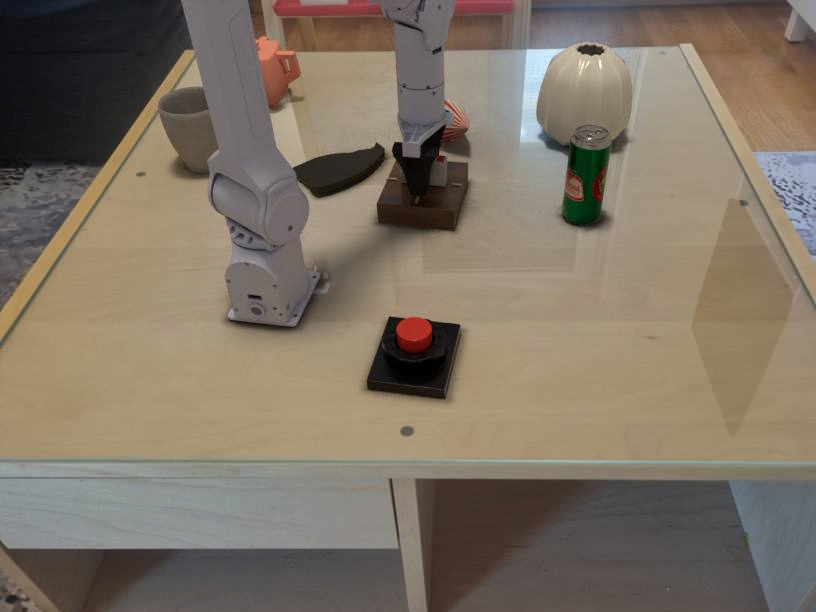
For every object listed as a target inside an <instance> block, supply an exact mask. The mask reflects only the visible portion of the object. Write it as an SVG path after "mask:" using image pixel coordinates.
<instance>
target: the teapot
mask: <svg viewBox="0 0 816 612" xmlns="http://www.w3.org/2000/svg"><path fill="white" fill-rule="evenodd" d="M255 40H256V45H257V50H258V55H259V60H260V65H261V70H262V75H263V81H264V86H265V91H266V96H267V101H268V106H269V110H276V109H279V108H280V104H279V103H280V102H281V101H282V100H283V99H284V98H285V96H286V94H287V92H288V89H289V84H291V83H293V82H294V81H296V80H297V79H299V78H301V75H302V72H301V68H300V64H299V60H298V56H297V53H296V50H283V49H282V47H281V43H279V41H278V40H274V39H272V40H271V39H269V37H268V36H265V35H263V36H260V37H259V38H258V39H257V38H255ZM287 61H288V63H287Z"/></svg>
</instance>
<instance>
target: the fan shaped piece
mask: <svg viewBox="0 0 816 612" xmlns="http://www.w3.org/2000/svg"><path fill="white" fill-rule="evenodd" d="M385 156H386V148H385V147H383V146H382V145H381V144H380V143H378V142H375V143H374V146H372V147H371V148H363V149H356V150H355V151H351V152H337V153H336V152H335V153H329V154H324V155H320V156H316V157H313V158H311V159H309V160H307V161H304V162H302V163H300V164H298V165H295V166H293V167H292V168H293V170H294V171H295V173H296V177H297V179H298V180H300V182H302V184H304V185H305V186H307V187H309V189H311V190H312V191H314V193H315V194H316V196H317V197H319V198H323V197H326V196H329V195H333V194H336V193H339V192H342V191H345V190H348V189H349V188H352V187H353V186H357V184H359V183H361V182H363V181H364V180H366V179H367V178H368V177H369V176H370V175H372V174H373V173H374V172H375V171H376V170H377V169H378V167H380V165H381V164H382V162H383V160H384V158H385Z"/></svg>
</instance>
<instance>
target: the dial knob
mask: <svg viewBox="0 0 816 612" xmlns="http://www.w3.org/2000/svg"><path fill="white" fill-rule="evenodd" d="M447 161H448V157H447V156H446V155H440V154H439V155H438V156H437V157H436V159H435V160H434V162H433V164H432V169H431V174H430V183H429V185H432V186H443V187H445V186H446V183H447ZM400 177H401V183H407V182H406V179H405V176H404V173H403V171H402V169H401V167H400Z"/></svg>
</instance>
